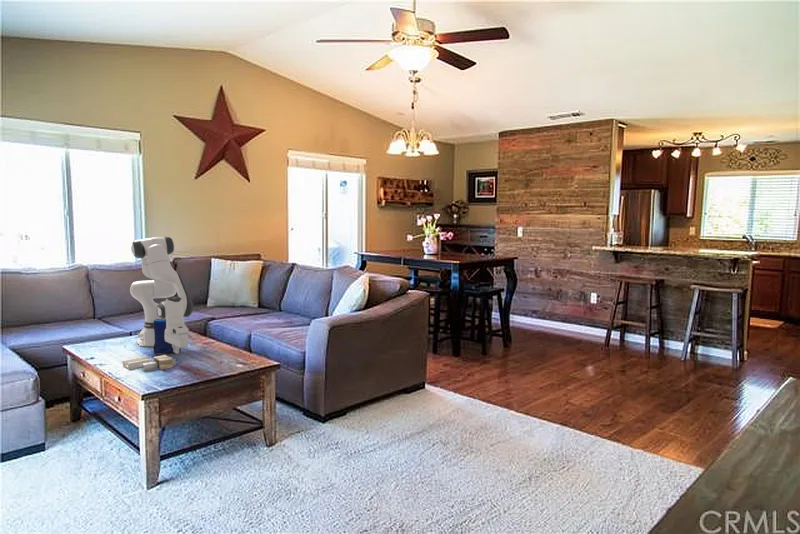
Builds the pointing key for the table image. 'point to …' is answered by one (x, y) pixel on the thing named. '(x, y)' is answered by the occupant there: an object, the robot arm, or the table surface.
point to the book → (161, 338)
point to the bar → (154, 365)
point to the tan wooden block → (164, 361)
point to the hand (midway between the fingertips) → (176, 352)
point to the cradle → (136, 362)
